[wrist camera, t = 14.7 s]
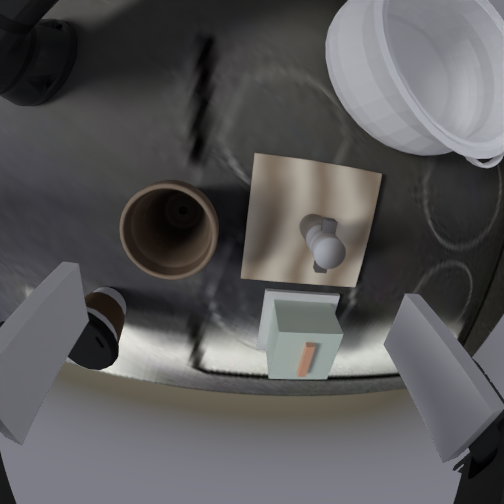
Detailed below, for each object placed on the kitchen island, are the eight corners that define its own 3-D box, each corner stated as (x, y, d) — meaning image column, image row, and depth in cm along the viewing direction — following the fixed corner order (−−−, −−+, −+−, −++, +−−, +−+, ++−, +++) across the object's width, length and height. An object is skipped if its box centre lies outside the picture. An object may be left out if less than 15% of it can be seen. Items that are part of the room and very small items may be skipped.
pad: (256, 346, 50) (256, 349, 49) (265, 288, 46) (266, 290, 45) (321, 349, 51) (322, 352, 50) (338, 293, 46) (339, 296, 46)
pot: (474, 128, 35) (547, 141, 20) (363, 179, 39) (427, 210, 24) (414, -8, 26) (472, -42, 11) (284, 20, 30) (307, -40, 15)
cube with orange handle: (273, 299, 45) (279, 336, 37) (329, 302, 46) (345, 338, 38) (265, 344, 49) (269, 383, 41) (316, 346, 50) (328, 383, 41)
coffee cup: (121, 266, 44) (89, 307, 33) (149, 321, 48) (129, 369, 37) (74, 281, 45) (39, 320, 34) (102, 331, 49) (77, 374, 38)
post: (241, 274, 45) (240, 316, 34) (254, 152, 38) (258, 159, 28) (352, 283, 46) (377, 323, 36) (378, 172, 39) (417, 188, 29)
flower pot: (181, 263, 44) (166, 298, 34) (130, 207, 40) (100, 230, 31) (241, 215, 41) (239, 241, 32) (187, 153, 38) (168, 160, 28)
